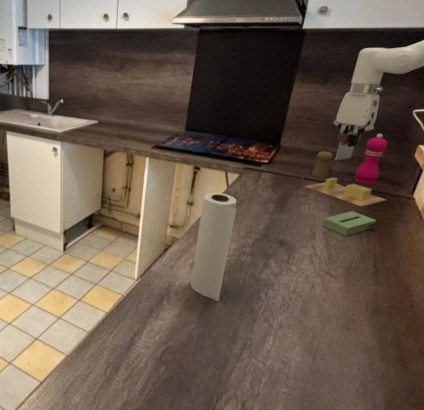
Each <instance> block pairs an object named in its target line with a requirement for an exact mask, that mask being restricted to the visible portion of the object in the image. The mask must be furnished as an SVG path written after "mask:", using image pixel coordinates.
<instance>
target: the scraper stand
mask: <svg viewBox="0 0 424 410" xmlns="http://www.w3.org/2000/svg"><path fill="white" fill-rule="evenodd" d="M376 222H377V220H376V219H375V218H372V217H368V216H367V215H364V214H361V213H358V212H355V211H352V210H351V211H347V212H343V213H339V214H335V215H331V216H327V217H324V218H323V220H322V224H321V226H322V227H324V228H326V229H328V230H330V231H333V232H335V233H337V234H339V235H342V236H345V237H347V236H351V235H354V234H357V233H361V232H364V231H368V230H371V229H374V227H373V226H371V225H375V224H377V223H376Z"/></svg>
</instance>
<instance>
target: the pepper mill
mask: <svg viewBox="0 0 424 410" xmlns="http://www.w3.org/2000/svg"><path fill="white" fill-rule="evenodd" d="M383 135H384V134H382V133H377V134H376V137H372V138H370V139H368V141H367V142H366V148H367V149H366V151H365V158H364V160H363V161H362V163H360V165H359V166H358V167H357V169H356V170H355V172H354V175H355V178H354V181H355V182H357V183H359V184H366V185H375V180H377V179H379V175H380V171H379V170H380V169H379V160H380V157H381V156H383V151H384V150H387V147H388V142H387V140H386V139H384V138H383V137H384V136H383Z"/></svg>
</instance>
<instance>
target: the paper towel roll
mask: <svg viewBox="0 0 424 410" xmlns="http://www.w3.org/2000/svg"><path fill="white" fill-rule="evenodd" d="M237 202H238V201H237V198H235V197H234V196H232V195H229V194H226V193H222V192H221V193H220V192H209V193H206V194H205V195H203V201H202V207H201V213H200V219H199V226H198V233H197V239H196V244H195V245H196V246H195V252H194V258H193V263H192V264H193V265H192V271H191V272H192V273H191V278H190V287H191V288H192V290H193V291H195V292H196V293H197V294H199V295H201V296H203V297H206V298H210V299H212V300H214V301H216V302H219V301H220V295H221V290H222V285H223V280H224V275H225V271H226V270H225V269H226V265H227V260H228V255H229V250H230V245H231V241H232V240H231V239H232V234H233V230H234V225H235V220H236V215H237V208H236V206H237Z"/></svg>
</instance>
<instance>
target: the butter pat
mask: <svg viewBox="0 0 424 410" xmlns="http://www.w3.org/2000/svg"><path fill="white" fill-rule="evenodd" d="M325 182H326V183H325ZM325 182H324V183H325V186H324V188H326V189H331V188H335V185H336V184H337V182H338V178H336V177H329V178H326V179H325Z"/></svg>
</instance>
